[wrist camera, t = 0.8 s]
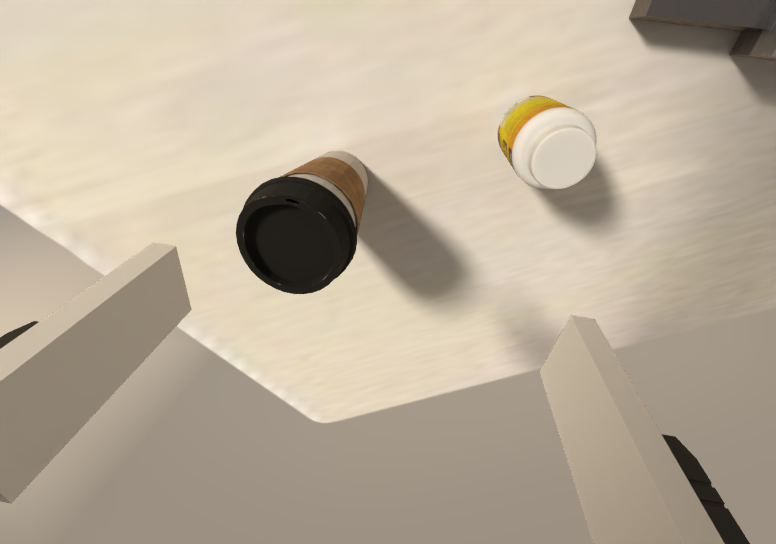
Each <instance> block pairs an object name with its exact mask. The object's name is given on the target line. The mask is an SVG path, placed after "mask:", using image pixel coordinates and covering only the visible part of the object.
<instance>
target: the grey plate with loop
mask: <svg viewBox="0 0 776 544" xmlns="http://www.w3.org/2000/svg"><path fill="white" fill-rule="evenodd" d="M629 18H630V19H639V20H648V21H657V22H665V23H674V24H683V25H692V26H701V27H709V28H718V29H727V30H736V31H742V33H741V35H740V36H739V38H738V40H737V42H736V44H735V46H734V47H733V49H732V51H731V53H730V55H734V56H742V57H751V58H760V59H768V60H776V0H636V2H635V4H634V7H633V9H632V12H631V14H630V17H629Z"/></svg>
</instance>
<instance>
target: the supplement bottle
mask: <svg viewBox="0 0 776 544" xmlns="http://www.w3.org/2000/svg"><path fill="white" fill-rule="evenodd" d="M498 142H499V145H500V148H501V150H502V151H503V153H504V155H505V156H506V158H507V159H508V161H509V163H510V164H511V166H512V167H513V169H514V170H515V172H516V174H517V175H518V176H519V177H520V178H521V179H522V180H523V181H524V182H525V183H527V184H528V185H530V186H533V187H536V188H542V189H564V188H568V187H570V186H573V185H575V184H577V183H578V182H580V181H581V180H582V179H583V178H584V177H586V175H587V174H588V173H589V172H590V170H591V169H592V167H593V165H594V163H595V160H596V153H597V150H596V132H595V129H594V126H593V124H592V122H591V121H590V120H589V119H588V117H587V116H585V115H584V114H583V113H581V112H580V111H578V110H575V109H573V108H571V107H569V106H566V105H564V104H562V103H560V102H557V101H555V100H553V99H551V98H548V97H545V96H529V97H526V98H523V99H521V100H519V101H517V102H516V103H514V104H513V105H512V106H511V107H510V108H509V109H508V110H507V111H506V113H505V114H504V116H503V117H502V119H501V122H500V124H499V128H498Z"/></svg>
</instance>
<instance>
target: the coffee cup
mask: <svg viewBox="0 0 776 544" xmlns="http://www.w3.org/2000/svg"><path fill="white" fill-rule="evenodd" d="M367 188H368V177H367V173H366V170H365V168H364V166H363V165H362V164H361V162H360V161H359V160H358V159H357V158H356V157H354V156H353V155H351V154H349V153H346V152H343V151H331V152H327V153H325V154H323V155H321V156H319V157H318V158H316V159H314V160H312V161H310V162H308V163H306V164H304V165H302V166H300V167H298V168H296V169H294V170H292V171H290V172H289V173H287V174H285V175H283V176H281V177H279V178H274V179H271V180H269V181H267V182H265V183H263V184H261V185H260V186H259V187H258V188H256V189H255V190H254V191H253V193H252V194H251V195H250V196H249V198H248V199H247V201H246V202H245V205H244V208H243V210H242V212H241V213H240V215H239V218H238V221H237V227H236V237H237V244H238V247H239V250H240V253H241V255H242V257H243V259H244V261H245V262H246V264H247V265H248V267H249V268H250V269H251V271H252V272H253V273H254V274H255V275H256V276H257V277H258V278H260V279H261V280H262V281H264V282H265V283H266V284H268V285H270V286H272V287H273V288H275V289H278V290H281V291H283V292H287V293H293V294H307V293H313V292H316V291H318V290H321V289H323V288H324V287H326V286H327V285H329V284H330V283H331V282H332V281H333V280H334V279H335V278H337V277H338V276H339V275H340V274H341V273H342V272H343V271H344V270H345V269H346V267H347V266H348V265H349V263H350V262H351V260H352V259H353V256H354V254H355V251H356V245H357V234H358V229H359V224H360V220H361V215H362V211H363V206H364V201H365V196H366V193H367Z"/></svg>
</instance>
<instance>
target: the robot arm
mask: <svg viewBox="0 0 776 544" xmlns="http://www.w3.org/2000/svg"><path fill="white" fill-rule="evenodd" d="M190 311H191V306H190V302H189V297H188V293H187V289H186V285H185V281H184V277H183V273H182V269H181V265H180V261H179V257H178V253H177V249H176V246H171V245H165V244H159V243H152V244H151V245H149V246H148V247H146V248H145V249H144V250H142V251H141V252H139V253H138V254H136V255H135V256H133V257H132V258H131V259H129V260H128V261H126V262H125V263H123V264H122V265H120V266H119V267H118V268H116V269H115V270H113V271H112V272H110V273H109V274H108V275H106V276H105V277H103V278H102V279H100V280H99V281H97V282H96V283H95V284H93V285H92V286H90V287H89V288H87V289H86V290H85V291H83V292H82V293H80V294H79V295H77V296H76V297H75V298H73V299H72V300H70V301H69V302H67V303H66V304H64V305H63V306H62V307H60V308H59V309H57V310H56V311H54V312H53V313H51V314H50V315H49V316H47V317H46V318H44V319H43V320H41V321H40V322H36V321H34V322H31V323H29V324H27V325H25V326H22V327H20V328H18V329H15V330H13V331H11V332H9V333H7V334H5V335H4V336H2V337H1V338H0V501H2V502H7V503H12V502H13V501H14V500H15V499H16V498H17V497H18V496H19V495H20V494H21V492H22V491H23V490H24V489H25V488H26V487H27V486H28V485H29V484H30V483H31V482H32V480H34V478H35V477H36V476H37V475H38V474H39V473H40V472H41V471H42V470H43V469H44V467H46V466H47V464H48V463H49V462H50V461H51V460H52V459H53V458H54V457H55V456H56V455H57V454H58V453H59V452H60V450H61V449H62V448H63V447H64V446H65V445H66V444H67V443H68V442H69V441H70V439H72V438H73V437H74V435H75V434H76V433H77V432H78V431H79V430H80V429H81V428H82V427H83V426H84V425H85V424H86V422H87V421H88V420H89V419H90V418H91V417H92V416H93V415H94V414H95V413H96V412H97V411H98V410H99V409H100V408H101V406H102V405H103V404H104V403H105V402H106V401H107V400H108V399H109V398H110V396H112V394H114V392H115V391H116V390H117V389H118V388H119V387H120V386H121V385H122V384H123V383H124V382H125V381H126V379H127V378H128V377H129V376H130V375H131V374H132V373H133V372H134V371H135V370H136V369H137V368H138V367H139V366H140V364H141V363H142V362H143V361H144V360H145V359H146V358H147V357H148V356H149V355H150V354H151V353H152V352H153V350H154V349H155V348H156V347H157V346H158V345H159V344H160V343H161V342H162V341H163V340H164V339H165V338H166V336H167V335H168V334H169V333H170V332H171V331H172V330H173V329H174V328H175V327H176V326H177V325H178V324H179V323H180V321H181V320H182V319H183V318H184V317H185V316H186V315H187V314H188V313H189V312H190ZM540 375H541V378H542V382H543V385H544V388H545V391H546V394H547V398H548V400H549V404H550V407H551V410H552V413H553V417H554V419H555V423H556V426H557V429H558V433H559V436H560V439H561V442H562V445H563V448H564V452H565V455H566V458H567V461H568V464H569V468H570V471H571V474H572V477H573V480H574V483H575V487H576V490H577V492H578V496H579V499H580V502H581V505H582V509H583V512H584V515H585V518H586V522H587V525H588V528H589V531H590V534H591V538H592V541H593V544H750V543H749V542H748V540H747V539H746V537H745V535H744V534H743V532H742V530H741V529H740V527H739V526H738V524H737V523H736V521H735V519H734V518H733V516H732V515H731V513H730V512H729V510H728V509H726V508H725V507H724V502H723V500H722V499H721V497H720V495H719V494H718V492H717V491H716V489H715V488H713V487H712V486H711V481H710V480H709V478H708V476H707V475H706V473H705V472H704V470H703V468H702V467H701V466H700V464H699V462H698V460H697V459H696V458H695V457H694V456H693V455H692V454H691V453H690V452H689V451H688V450H687V448H686V447H685V446H684V445H682V443H681V442H680V441H679V440H678V439H677V438H676V437H673V436H668V435H663V434H661V433H660V431H659V429H658V428H657V426H656V424H655V422H654V421H653V419H652V417H651V415H650V414H649V412H648V410H647V408H646V407H645V405H644V403H643V402H642V400H641V398H640V397H639V395H638V393H637V391H636V389H635V388H634V386H633V385H632V383H631V381H630V379H629V377H628V376H627V374H626V372H625V370H624V369H623V367H622V365H621V364H620V362H619V360H618V358H617V357H616V355H615V353H614V351H613V350H612V348H611V346H610V344H609V343H608V341H607V339H606V338H605V336H604V334H603V332H602V331H601V329H600V327H599V325H598V324H597V322H596V320H595V319H590V318H585V317H579V316H573V315H571V316H570V318H569V320H568V322H567V323H566V325H565V327H564V329H563V331H562V332H561V334H560V336H559V338H558V340H557V341H556V343H555V345H554V347H553V349H552V350H551V352H550V354H549V356H548V358H547V359H546V361H545V363H544V365H543V366H542V368H541V370H540Z"/></svg>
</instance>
